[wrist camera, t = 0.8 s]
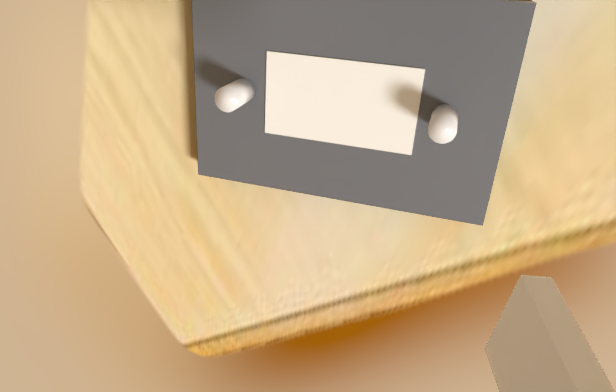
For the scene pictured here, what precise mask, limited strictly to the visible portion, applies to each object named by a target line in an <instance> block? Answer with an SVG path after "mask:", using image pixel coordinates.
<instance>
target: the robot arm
mask: <svg viewBox="0 0 616 392" xmlns="http://www.w3.org/2000/svg"><path fill="white" fill-rule="evenodd" d="M485 351H486V354H487V357H488V359H489V363H490V365H491V368H492V371H493V374H494V377H495V380H496V383H497V386H498V389H499V392H615V390H614V389H613V387H612V385H611V383H610V381H609V380H608V378H607V376H606V374H605V372H604V371H603V369H602V367H601V365H600V363H599V362H598V360H597V358H596V356H595V354H594V353H593V351H592V349H591V347H590V345H589V343H588V342H587V340H586V338H585V336H584V335H583V333H582V331H581V329H580V327H579V325H578V324H577V322H576V320H575V318H574V316H573V315H572V313H571V311H570V309H569V307H568V306H567V304H566V302H565V300H564V298H563V297H562V295H561V293H560V291H559V289H558V287H557V286H556V284H555V282H554V280H553V279H552V277H541V276H531V275H530V276H529V275H521V276H520V278H519V280H518V282H517V284H516V286H515V288H514V290H513V292H512V294H511V296H510V298H509V300H508V302H507V304H506V306H505V308H504V310H503V313H502V315H501V317H500V319H499V321H498V323H497V325H496V327H495V329H494V331H493V333H492V335H491V337H490V339H489V341H488V343H487V346H486V348H485Z"/></svg>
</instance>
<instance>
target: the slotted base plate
mask: <svg viewBox="0 0 616 392" xmlns="http://www.w3.org/2000/svg"><path fill="white" fill-rule="evenodd" d="M535 6H536V3H535V2H533V1H524V0H192V20H193V46H194V73H195V100H196V127H197V153H198V174H199V175H204V176H210V177H215V178H221V179H226V180H232V181H237V182H243V183H249V184H254V185H260V186H265V187H271V188H276V189H282V190H288V191H293V192H299V193H304V194H310V195H315V196H321V197H327V198H332V199H338V200H343V201H349V202H354V203H360V204H366V205H371V206H377V207H382V208H388V209H393V210H399V211H405V212H410V213H416V214H421V215H427V216H432V217H438V218H444V219H449V220H455V221H460V222H466V223H471V224H477V225H482V226H483V222H484V218H485V214H486V210H487V205H488V201H489V197H490V193H491V189H492V185H493V181H494V176H495V172H496V168H497V164H498V160H499V156H500V151H501V147H502V143H503V139H504V135H505V131H506V127H507V122H508V118H509V114H510V110H511V106H512V102H513V98H514V93H515V89H516V85H517V81H518V77H519V73H520V68H521V64H522V60H523V56H524V52H525V48H526V44H527V39H528V35H529V31H530V27H531V23H532V19H533V14H534V10H535Z"/></svg>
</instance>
